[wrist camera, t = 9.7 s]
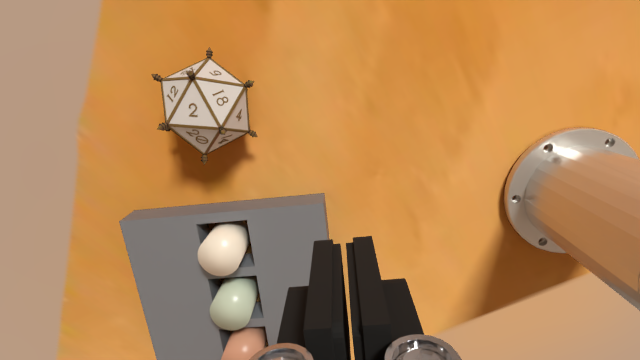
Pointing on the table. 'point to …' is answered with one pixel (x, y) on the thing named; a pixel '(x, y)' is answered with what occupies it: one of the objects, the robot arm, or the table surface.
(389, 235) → the table surface
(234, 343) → the pink egg
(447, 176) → the table surface
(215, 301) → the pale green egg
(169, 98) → the game die
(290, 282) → the panel
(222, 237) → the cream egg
